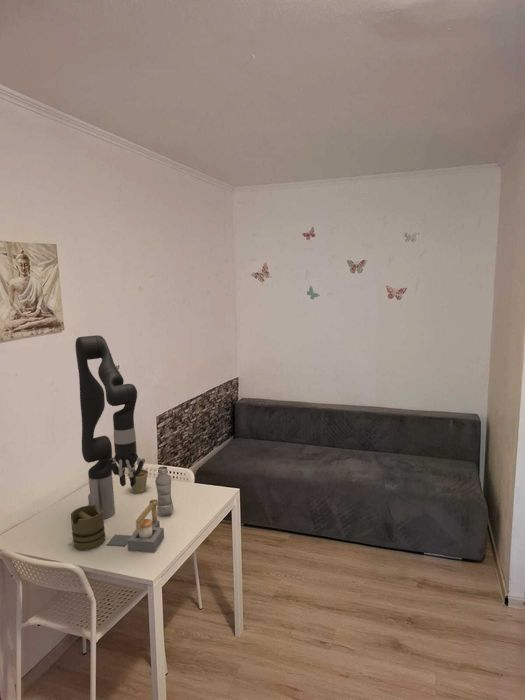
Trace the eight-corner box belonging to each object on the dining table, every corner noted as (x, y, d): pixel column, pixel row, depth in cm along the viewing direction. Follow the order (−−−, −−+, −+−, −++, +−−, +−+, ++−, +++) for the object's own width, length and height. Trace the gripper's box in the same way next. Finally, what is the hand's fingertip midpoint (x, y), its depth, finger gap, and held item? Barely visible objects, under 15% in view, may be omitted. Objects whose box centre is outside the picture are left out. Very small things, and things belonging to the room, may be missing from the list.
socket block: (128, 550, 175) (125, 523, 173) (144, 529, 189) (142, 503, 188) (154, 552, 173) (152, 524, 171) (168, 530, 188) (167, 505, 186)
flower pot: (146, 495, 219) (145, 477, 218) (126, 495, 219) (124, 477, 218) (151, 486, 229) (150, 468, 227) (131, 486, 229) (130, 469, 227)
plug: (137, 547, 177) (135, 525, 175) (142, 539, 182) (141, 518, 180) (150, 548, 176) (149, 526, 174) (155, 540, 181) (154, 519, 180)
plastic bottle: (170, 518, 198) (167, 471, 195) (154, 517, 199) (151, 470, 196) (176, 510, 204) (173, 465, 201) (161, 509, 205) (158, 464, 202)
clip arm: (134, 531, 172) (133, 520, 171) (151, 509, 188) (151, 499, 187) (142, 531, 171) (141, 520, 171) (159, 509, 187) (158, 499, 187)
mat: (106, 545, 179) (106, 544, 178) (115, 535, 185) (114, 534, 185) (124, 546, 177) (124, 545, 177) (132, 536, 184) (132, 535, 184)
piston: (93, 502, 187) (108, 511, 180) (96, 531, 189) (111, 541, 181) (65, 513, 179) (79, 523, 171) (68, 543, 181) (82, 554, 173)
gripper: (101, 442, 170) (105, 489, 172) (139, 443, 168) (142, 491, 170) (111, 435, 177) (114, 480, 180) (147, 436, 175) (150, 482, 178)
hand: (128, 485), depth 175 cm, fingers open, 3 cm apart
